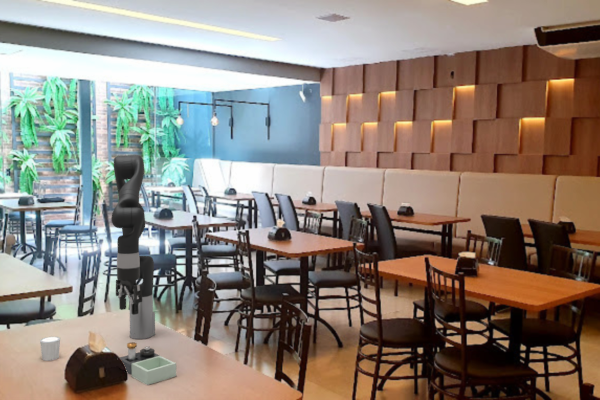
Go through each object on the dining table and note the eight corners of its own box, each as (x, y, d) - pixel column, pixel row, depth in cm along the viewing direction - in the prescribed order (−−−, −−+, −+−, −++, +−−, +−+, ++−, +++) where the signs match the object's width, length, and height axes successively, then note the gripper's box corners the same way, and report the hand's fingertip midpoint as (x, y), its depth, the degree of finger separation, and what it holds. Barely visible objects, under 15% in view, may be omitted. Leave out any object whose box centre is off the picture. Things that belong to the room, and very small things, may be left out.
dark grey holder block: (148, 359, 209) (148, 342, 209) (161, 365, 203) (161, 348, 202) (117, 367, 201) (117, 350, 200) (130, 374, 194) (130, 356, 194)
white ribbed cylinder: (53, 362, 205) (52, 343, 205) (36, 360, 207) (35, 341, 206) (64, 355, 212) (64, 337, 211) (48, 353, 213) (47, 335, 213)
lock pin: (133, 366, 202) (133, 341, 201) (138, 369, 200) (138, 343, 199) (125, 368, 200) (125, 343, 199) (130, 371, 197) (129, 346, 197)
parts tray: (160, 368, 201) (160, 355, 200) (176, 376, 194) (176, 363, 193) (131, 376, 193) (131, 363, 193) (147, 385, 186) (147, 371, 186)
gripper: (148, 267, 194) (149, 314, 196) (128, 261, 204) (128, 305, 206) (128, 270, 189) (128, 318, 190) (108, 263, 199) (108, 309, 200)
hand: (128, 311), depth 198 cm, fingers open, 8 cm apart
